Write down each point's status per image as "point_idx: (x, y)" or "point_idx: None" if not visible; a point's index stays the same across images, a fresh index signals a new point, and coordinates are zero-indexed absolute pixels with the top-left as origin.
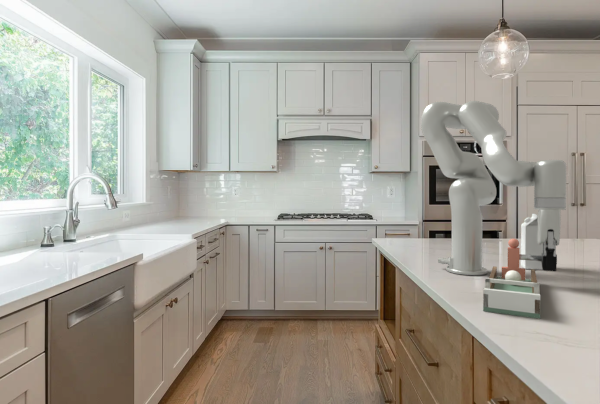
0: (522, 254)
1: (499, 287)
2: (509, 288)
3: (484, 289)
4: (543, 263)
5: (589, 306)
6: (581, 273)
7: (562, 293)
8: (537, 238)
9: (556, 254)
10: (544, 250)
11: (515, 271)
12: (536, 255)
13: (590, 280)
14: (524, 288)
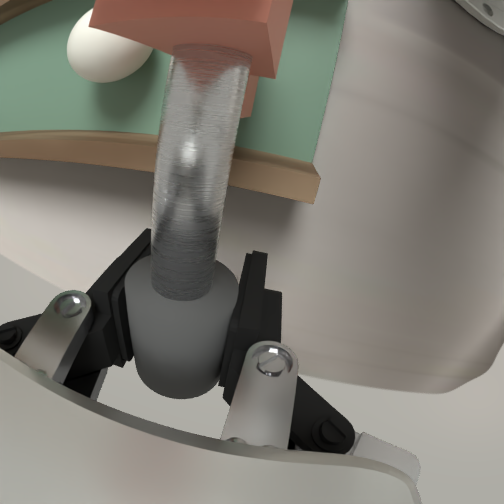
0: (185, 81)
1: (69, 10)
2: (60, 46)
3: None
4: (127, 254)
5: (30, 264)
6: (467, 375)
7: (127, 244)
8: (69, 482)
9: (154, 391)
10: (33, 328)
11: (74, 50)
12: (168, 251)
13: (385, 382)
14: (73, 99)
